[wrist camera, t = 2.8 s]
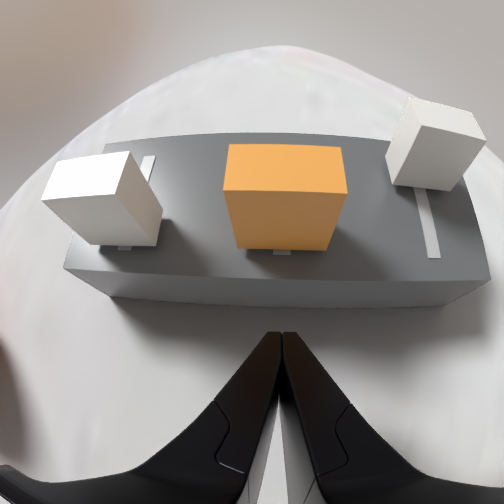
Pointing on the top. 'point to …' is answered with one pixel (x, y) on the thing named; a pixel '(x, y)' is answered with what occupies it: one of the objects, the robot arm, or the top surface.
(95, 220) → the tab
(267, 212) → the tab
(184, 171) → the grey cube slider board
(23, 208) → the top surface
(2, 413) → the top surface
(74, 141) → the top surface
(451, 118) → the tab
